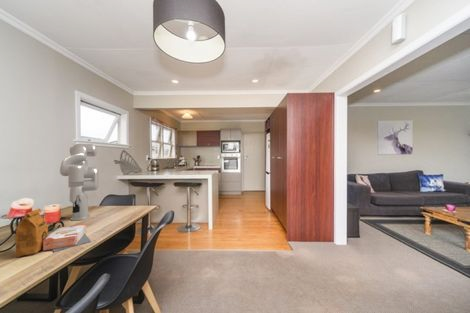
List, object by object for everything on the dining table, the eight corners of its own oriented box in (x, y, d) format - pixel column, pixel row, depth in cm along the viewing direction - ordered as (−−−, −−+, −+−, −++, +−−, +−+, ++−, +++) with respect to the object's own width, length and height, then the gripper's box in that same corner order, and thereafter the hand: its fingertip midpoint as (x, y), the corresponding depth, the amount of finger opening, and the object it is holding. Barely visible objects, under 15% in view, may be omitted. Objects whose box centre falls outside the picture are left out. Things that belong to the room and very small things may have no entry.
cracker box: (86, 222, 122) (75, 235, 103) (86, 231, 122) (75, 245, 103) (58, 226, 116) (42, 240, 97) (59, 235, 116) (42, 251, 97)
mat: (49, 242, 108) (49, 241, 108) (84, 233, 120) (84, 232, 120) (53, 252, 96) (53, 251, 96) (90, 241, 109) (90, 240, 109)
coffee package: (52, 244, 105) (52, 207, 105) (36, 255, 93) (36, 213, 93) (29, 247, 102) (30, 208, 102) (10, 259, 90) (11, 215, 90)
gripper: (66, 183, 119) (66, 211, 119) (70, 186, 110) (70, 216, 110) (81, 182, 125) (81, 208, 125) (86, 184, 116) (86, 213, 116)
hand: (76, 212), depth 118 cm, fingers closed
